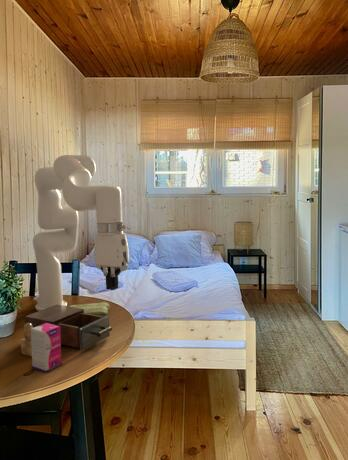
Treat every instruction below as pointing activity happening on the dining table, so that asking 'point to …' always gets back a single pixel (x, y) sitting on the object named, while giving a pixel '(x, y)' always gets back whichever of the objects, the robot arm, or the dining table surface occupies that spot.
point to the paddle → (27, 340)
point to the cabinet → (52, 315)
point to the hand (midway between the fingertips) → (112, 288)
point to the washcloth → (94, 308)
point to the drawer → (84, 330)
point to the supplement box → (46, 347)
